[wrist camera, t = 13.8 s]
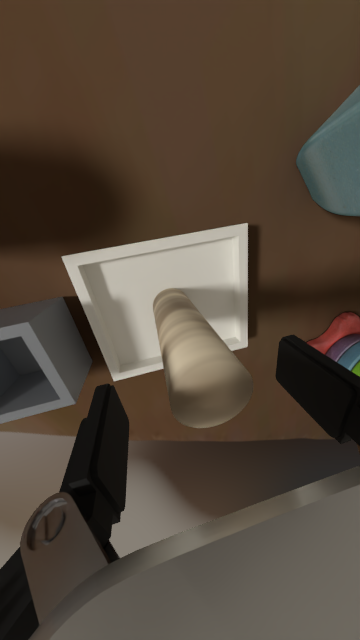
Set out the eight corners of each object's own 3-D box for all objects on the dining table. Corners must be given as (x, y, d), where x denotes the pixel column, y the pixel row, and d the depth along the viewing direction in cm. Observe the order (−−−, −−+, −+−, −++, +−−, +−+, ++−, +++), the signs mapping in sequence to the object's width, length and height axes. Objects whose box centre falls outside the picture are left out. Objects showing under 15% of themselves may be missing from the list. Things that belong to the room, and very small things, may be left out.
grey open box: (-27, 314, 19) (-107, 350, 13) (62, 296, 20) (27, 321, 14) (19, 379, 23) (-25, 430, 17) (92, 361, 24) (75, 403, 18)
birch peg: (148, 292, 21) (162, 376, 8) (186, 284, 21) (254, 351, 9) (157, 326, 22) (178, 437, 10) (191, 318, 23) (252, 414, 10)
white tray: (71, 254, 18) (61, 256, 16) (236, 224, 20) (247, 223, 18) (116, 368, 25) (114, 381, 23) (238, 337, 27) (247, 346, 25)
